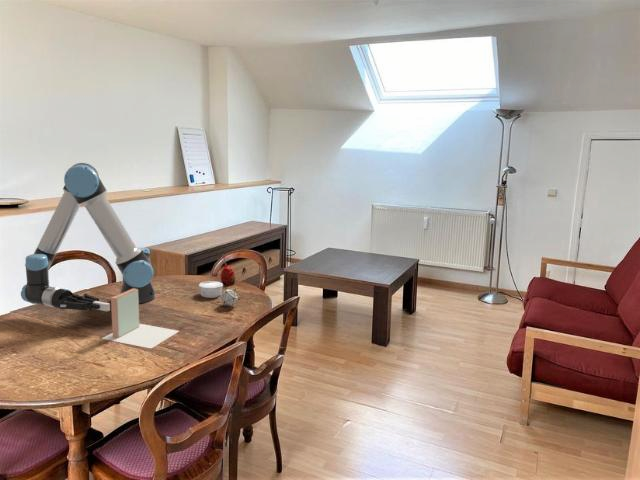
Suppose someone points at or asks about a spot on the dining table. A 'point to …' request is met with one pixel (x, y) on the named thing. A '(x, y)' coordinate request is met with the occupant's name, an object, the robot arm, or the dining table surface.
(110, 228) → the robot arm
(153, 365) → the dining table surface
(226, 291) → the game die
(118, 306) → the terracotta tile
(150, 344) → the rubber mat
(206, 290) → the ramekin
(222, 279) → the red clay folk toy
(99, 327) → the dining table surface
